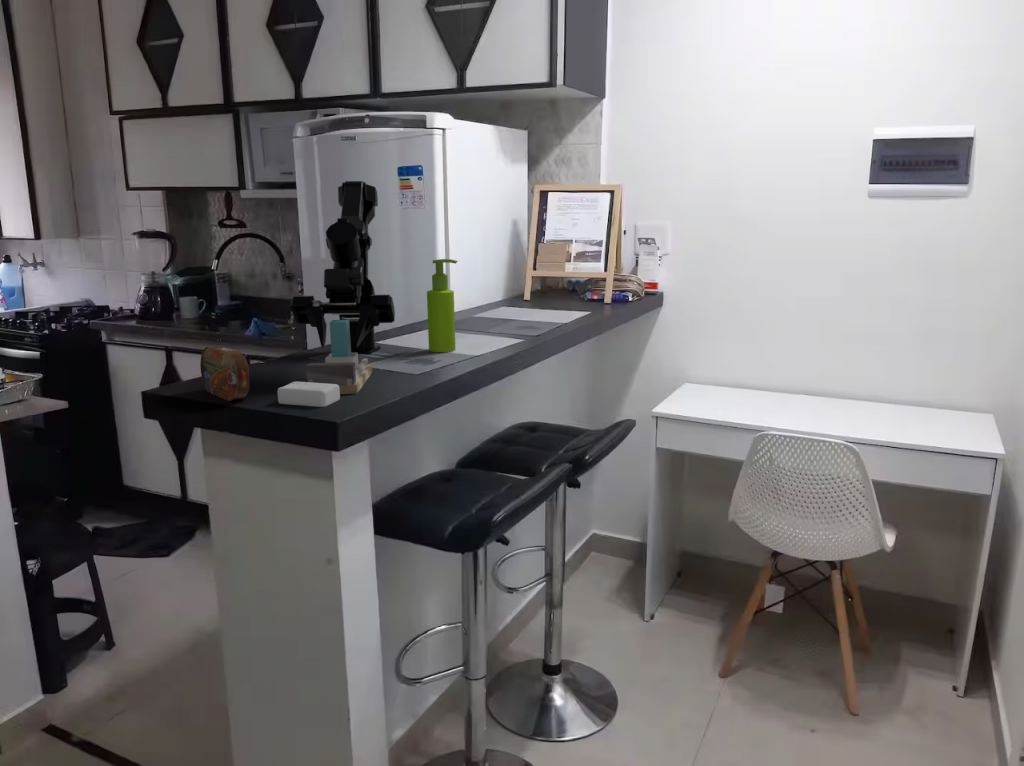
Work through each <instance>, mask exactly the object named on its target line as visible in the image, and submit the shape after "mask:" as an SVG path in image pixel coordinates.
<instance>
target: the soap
mask: <svg viewBox="0 0 1024 766" xmlns="http://www.w3.org/2000/svg"><path fill="white" fill-rule="evenodd" d="M340 399H341V394H340V391H339V386H338V385H337V384H326V383H312V382H307V381H298V380H297V381H296V380H295V381H292V382H290V383H288V384H286V385H284V386H281V387H278V388H277V401H278V404H279V405H280V404H282V405H292V406H293V405H294V406H303V407H304V406H305V407H317V408H318V407H319V408H325V407H328V406H330V405H331V404H334V403H335V402H338V401H340Z"/></svg>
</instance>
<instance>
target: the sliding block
mask: <svg viewBox="0 0 1024 766" xmlns="http://www.w3.org/2000/svg"><path fill="white" fill-rule="evenodd" d="M329 334H330V336H329V337H330V347H331V350H330V351H331V352H330V353H329V354H328V355H327V356H326V357H325V359H324V360H325V362H324V363H353V362H355V368H356V367H357V366H358V364H359V356H358V355H359V353H354V352H351V342H350V326H349V320H340V319H332V320H331V321H330V322H329Z"/></svg>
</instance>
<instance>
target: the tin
mask: <svg viewBox="0 0 1024 766" xmlns="http://www.w3.org/2000/svg"><path fill="white" fill-rule="evenodd" d="M199 368H200V375H201V378H202V383H203V386H204V388H205V390H206V391H207V392H208V393H209V392H210V393H211V394H210V393H209V394H210V395H212V394H213V396H215V395H216V396H215V397H217V396H218V397H217V398H219V399H222V398H223V400H225V401H228V402H231V401H237V400H241V399H245V398H246V397H247V395H248V393H249V391H250V372H249V371H250V367H249V363H248V361H247V359H246V356H245V355H244V354H243V353H242V352H240V351H239V350H234V349H231V348H227V347H225V346H224V347H223V346H205V348H204V349H203V351H202V352H201V356H200V367H199Z"/></svg>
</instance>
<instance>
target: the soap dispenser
mask: <svg viewBox="0 0 1024 766" xmlns="http://www.w3.org/2000/svg"><path fill="white" fill-rule="evenodd" d="M458 262H459V261H458V260H456V259H450V258H439V259H433V260H432V264H435V273H433V274H432V275H431V285H432V286H431V287H432V289H431V290H428V291H426V302H427V303H426V304H427V305H426V307H427V331H428V334H427V335H428V337H427V338H428V351H429V352H430V351H431V352H430V353H437V352H444V353H451V352H450V351H452V352H454V350H455V351H456V325H455V324H456V322H455V291H454V290H452V289H449V285H448V282H449V280H448V276H449V275H448V274H446V273H444V263H449V264H450V263H451V264H457V263H458Z"/></svg>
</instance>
